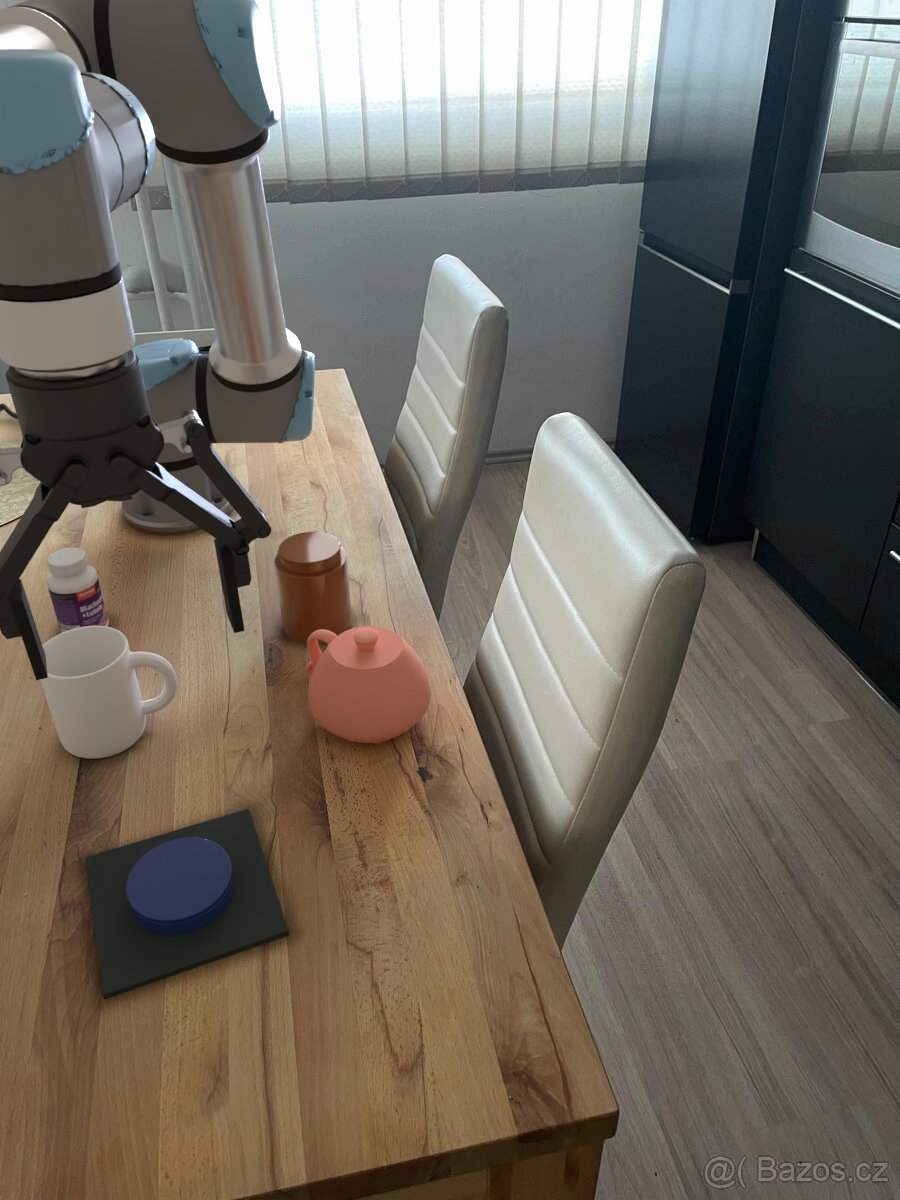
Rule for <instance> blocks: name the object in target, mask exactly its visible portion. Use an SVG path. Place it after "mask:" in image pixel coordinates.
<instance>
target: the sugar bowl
mask: <svg viewBox="0 0 900 1200" xmlns="http://www.w3.org/2000/svg"><path fill="white" fill-rule="evenodd" d="M318 639H319V640H322V641H324V642H326V643H325V644H327V647H326V648H325V649H324V651H323V652H322V651H321V648H320V644H318ZM306 648H307V653H308V655H309V658H310V661H308V663H307V664H306V666H305V667H306V668H305V672H306V675H307V676H308V677H309V678H310V680H309V684H308V693H307V696H308V697H307V699H308V701H307V702H308V708H309V712H310V713H311V715H312V717H313V719H314V720H315V721H316V722H317V724H319V726H320V727H322V728H323V729H325V730H326V731H327V732H329V733H330V734H333V736H336V737H339V738H341V739H344V740H346V741H349V742H355V743H362V744H381V743H383V742H385V741H389V740H391V739H394V738H396V737H399V736H401V735H402V734H404V733H406V732H407V731H408V730H410V729H412V728H413V727H414V726H415V725H416V724H417V723H419V721H421V719H422V718H423V717H424V716H425V714H426V712H427V711H428V708H429V706H430V703H431V698H432V690H431V683H430V680H429V675H428V672H427V669H426V668H425V666H424V663H423V662H422V660H421V658H420V657H419V655H418V654H417V653H416V652H415V650H414V649H413V648H412V647H411V646H410V644H408V642H407V641H406V640H405V639H404V638H402V637H401V636H400V635H399V634H398V633H396V632H394V631H393V630H390V629H388V628H385V627H381V626H377V625H364V626H356V627H352V628H350V629H349V630H347V631H345V632H343V633H341V634H339V635H338V636H337V635H336V634H335V633H333V632H331V631H329V630H324V629H321V630H317V631H315V632H313V633H312V634H311V635H310V636H309V638H308V640H307V644H306Z"/></svg>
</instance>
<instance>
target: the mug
mask: <svg viewBox="0 0 900 1200" xmlns="http://www.w3.org/2000/svg"><path fill="white" fill-rule="evenodd" d="M42 646H43V649H44V652H45V655H46V664H47V674H48V678H45V679H40V680H39V681H40V684H41V687H42V690H43V693H44V697H45V699H46V702H47V705H48V708H49V711H50V715H51V718H52V721H53V725H54V727H55V730H56V732H57V736H58V739H59V741H60V744H61V745H62V747H63V748H64V749H65V751H66V752H67V753H69V754H71V755H73V756H75V757H78V758H81V759H88V760H97V759H98V760H100V759H105V758H110V757H113V756H116V755H118V754H120V753H123V752H125V751H126V750H128V749H130V748H131V747H132V746H133V745H134V744H135V743H137V741H139V739H140V738H141V737H142V735H143V734H144V732H145V729H146V726H147V717H146V716H147V715H152V714H155V713H157V712H160V711H162V710H163V709H164V708H166V707H167V706H169V705H170V704H171V702H172V701H173V700H174V698H175V696H176V694H177V691H178V684H179V683H178V676H177V673H176V670H175V669H174V667H173V665H172V664H171V663H170V662H169V661H168V660H167V659H166V658H165V657H163V656H161V655H159V654H156V653H153V652H148V651H131V650H130V645H129V642H128V638H127V636H126V635H125V634H124V633H123V632H122V631H120V630H118V629H116V628H114V627H111V626H108V627H106V626H85V627H79V628H75V629H71V630H68V631H65V632H63V633H61V632H60V633H59V634H57V635H54V636H53V637H52V638H50V639H49V640H47V641H46V642H44V643H43V644H42ZM137 668H149V669H153V670H155V671H157V672H158V673H159V675H160V676H161V677H162V680H163V688H162V690H161V692H160V694H158V695H157V696H156V697H154V698H150V699H146V700H143V699H142V694H141V689H140V687H139V682H138V678H137V674H136V673H137V672H136V670H135V669H137Z"/></svg>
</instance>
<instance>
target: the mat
mask: <svg viewBox="0 0 900 1200" xmlns="http://www.w3.org/2000/svg"><path fill="white" fill-rule="evenodd" d="M187 837H196V838H203V839H207V840H210V841H213V842H215V843H216V844H218V845H219V846H221V847H222V848H223V849H224V850H225V851H226V853H227V854H228V856H229V858H230V861H231V865H232V870H233V875H234V881H235V886H234V892H233V896H232V898H231V900H230V902H229V904H228V906H227V907H226V908H225V910H224V911H223V912H222V913H221V914H220V915H219V916H218V917H217V918H216V919H215V920H213V921H212V922H210V923H209V924H208V925H206V926H204V927H202V928H200V929H198V930H195V931H193V932H189V933H186V934H181V935H173V936H172V935H160V934H156V933H153V932H150V931H148V930H146V929H145V928H143V927H142V926H141V925H140V924H138V922H137V921H136V920H135V918H134V916H133V914H132V911H131V908H130V905H129V902H128V898H127V895H126V883H127V879H128V876H129V874H130V872H131V870H132V868H133V867H134V865H135V864H136V863H137V862H138V861H139V859H140V858H141V857H143V856H144V855H145V854H146V853H147V852H149V851H150V850H152V849H153V848H155V847H157V846H159V845H161V844H163V843H165V842H168V841H171V840H175V839H179V838H187ZM265 858H266V857H265V855H264V852H263V848H262V845H261V842H260V839H259V837H258V834H257V830H256V827H255V824H254V821H253V819H252V815H251V811H250V809H249V808H245V809H242V810H238V811H235V812H232V813H229V814H226V815H222V816H218V817H216V818H211V819H208V820H205V821H202V822H198V823H195V824H192V825H188V826H185V827H182V828H178V829H175V830H171V831H169V832H165V833H162V834H158V835H155V836H152V837H147V838H145V839H142V840H138V841H135V842H131V843H129V844H125V845H122V846H118V847H115V848H111V849H109V850H108V849H107V850H105V851H101V852H98V853H95V854H91V855H88V856H85V864H86V865H85V866H86V873H87V882H88V889H89V899H90V907H91V914H92V922H93V932H94V938H95V946H96V947H95V948H96V955H97V962H98V971H99V976H100V977H99V979H100V986H101V995H102V998H103V1000H108V999H110V998H113V997H116V996H120V995H122V994H124V993H128V992H131V991H133V990H136V989H138V988H142V987H145V986H147V985H151V984H153V983H156V982H159V981H163V980H165V979H167V978H170V977H173V976H176V975H180V974H182V973H185V972H187V971H191V970H194V969H197V968H199V967H202V966H205V965H208V964H210V963H213V962H217V961H220V960H222V959H225V958H229V957H231V956H233V955H236V954H239V953H242V952H245V951H248V950H251V949H254V948H257V947H259V946H262V945H266V944H268V943H271V942H274V941H277V940H280V939H283V938H286V937H288V936H290V931H289V928H288V924H287V922H286V919H285V915H284V912H283V910H282V906H281V904H280V900H279V897H278V894H277V891H276V889H275V885H274V881H273V879H272V876H271V873H270V870H269V867H268V864H267V861H266V859H265Z"/></svg>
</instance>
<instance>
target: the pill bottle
mask: <svg viewBox="0 0 900 1200" xmlns="http://www.w3.org/2000/svg"><path fill="white" fill-rule="evenodd" d="M46 561H47V566H48V570H49V572H50V573H49V575H48V576H47V578H46V585H47V591H48V593H49V598H50V600H51V604H52V607H53V610H54V614H55V617H56V621H57V624H58V625H57V626H58V628H59V631H60V634H61V633H63V632H65V631H68V630H71V629H75V628H79V627H85V626H106V627H109V623H110V621H109V620H110V619H109V616H108V612H107V611H108V610H107V608H106V604H105V599H104V597H103V592H102V588H101V584H100V579H99V576H98V572H97V571H96V569H95V568H94V567H93V566H92V565H90V564H88V559H87V555H86V552H85V551H84V550H83V549H82V548H78V547H66V548H65V547H64V548H61V549H58V550H56V551H54V552H52V553H51V554H49V556H48V557H47V560H46Z"/></svg>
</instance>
